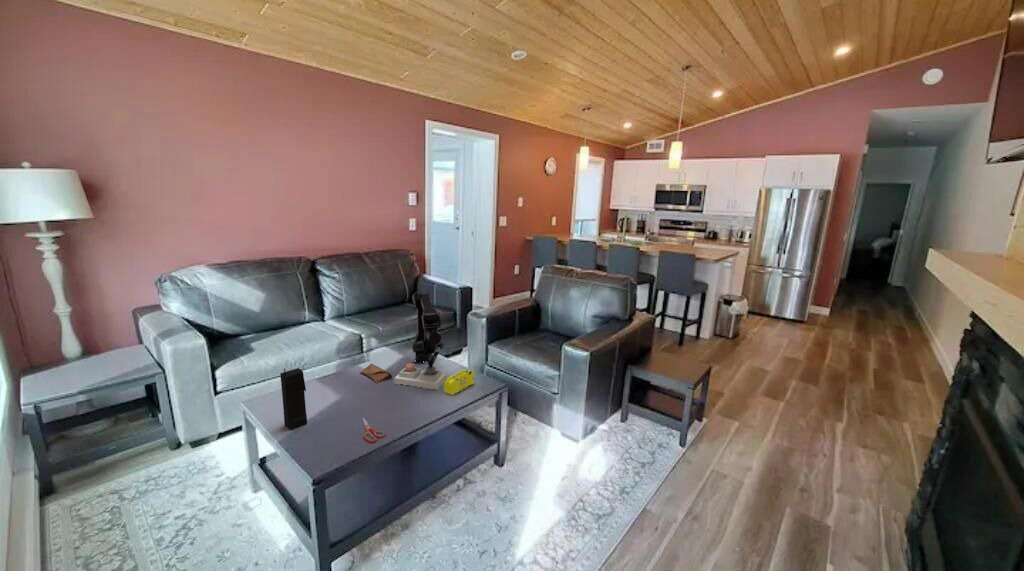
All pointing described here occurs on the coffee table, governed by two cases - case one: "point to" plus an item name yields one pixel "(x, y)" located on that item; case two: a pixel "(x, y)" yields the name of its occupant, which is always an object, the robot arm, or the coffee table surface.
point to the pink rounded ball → (410, 367)
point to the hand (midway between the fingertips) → (430, 367)
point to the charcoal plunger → (430, 370)
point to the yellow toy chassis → (459, 381)
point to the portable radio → (293, 398)
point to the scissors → (372, 433)
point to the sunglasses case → (376, 373)
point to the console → (420, 378)
